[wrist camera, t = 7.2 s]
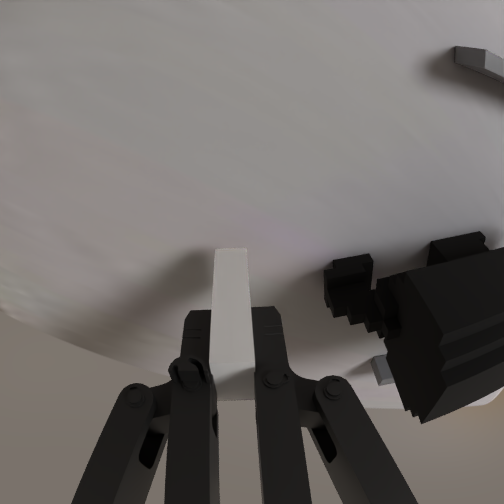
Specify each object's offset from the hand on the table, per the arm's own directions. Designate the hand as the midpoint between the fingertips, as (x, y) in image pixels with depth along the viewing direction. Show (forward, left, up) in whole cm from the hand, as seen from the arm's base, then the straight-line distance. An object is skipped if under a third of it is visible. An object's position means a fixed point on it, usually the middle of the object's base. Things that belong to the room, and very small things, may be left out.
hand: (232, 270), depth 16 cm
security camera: (+1, +14, -2) cm, 15 cm away
